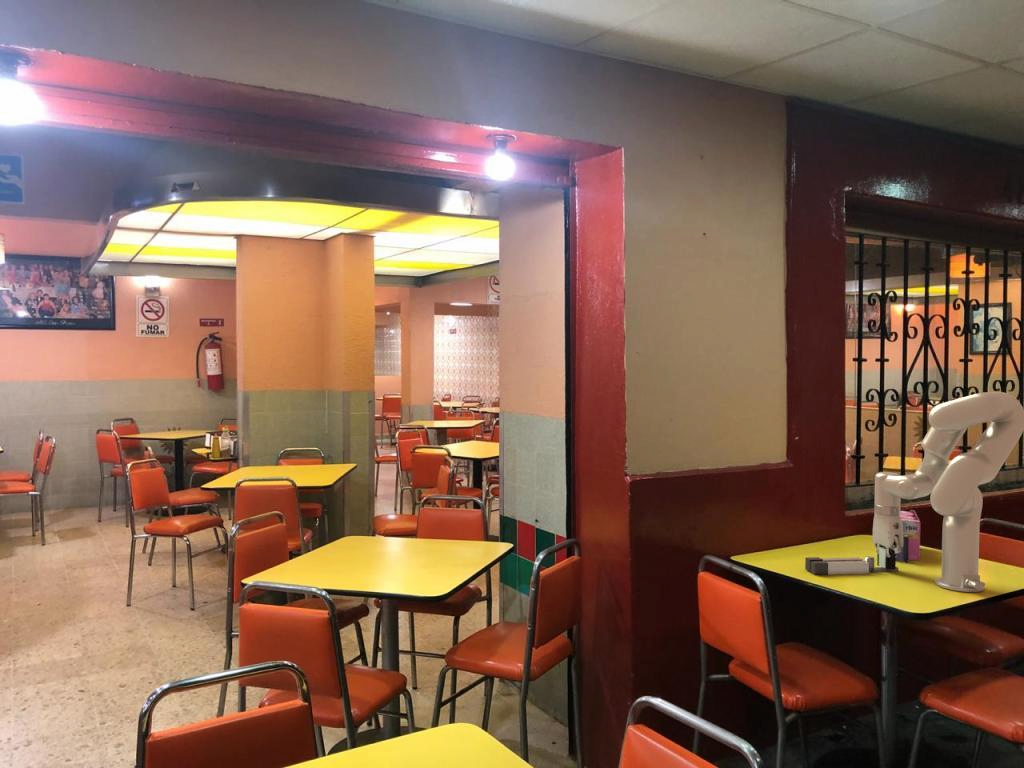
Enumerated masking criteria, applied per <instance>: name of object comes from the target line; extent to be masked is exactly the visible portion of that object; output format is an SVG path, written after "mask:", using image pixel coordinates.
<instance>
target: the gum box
mask: <svg viewBox="0 0 1024 768" xmlns="http://www.w3.org/2000/svg"><path fill="white" fill-rule="evenodd" d="M900 517H901V520H902V526H903V534H904V535H907V536H908V539H909V540H908V553H909V554H908V555H909V557H908V561H917V562H920V556H921V553H920V552H921V550H920V549H921V521H920V518H919V517H918V515H917V512H916V510H913V509H910V510H909V511H905V510H900Z"/></svg>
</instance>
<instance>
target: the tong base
mask: <svg viewBox="0 0 1024 768" xmlns="http://www.w3.org/2000/svg"><path fill="white" fill-rule="evenodd" d="M898 571H899V567H897V566H896V568H895V569H889V570H887V569H885V568H883V567H881V566H878V567H875V557H874V556H864V560H863V561H834V562H825V561H811V568H810V571H809V572H810V574H812V575H814V576H829V575H831V576H832V575H863V574H864V575H865V574H866V575H867V574H870V573H875V572H898Z"/></svg>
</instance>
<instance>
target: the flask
mask: <svg viewBox="0 0 1024 768" xmlns="http://www.w3.org/2000/svg"><path fill="white" fill-rule="evenodd" d="M908 540H909V539H908V536H907V535H904V534H903V547H902V548H901V552H899V553H898V554H897V557H896V562H899V563H905V564H908V563H909V560H908V557H909V555H908V554H909V553H908ZM892 547H893V545H892Z"/></svg>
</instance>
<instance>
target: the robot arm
mask: <svg viewBox="0 0 1024 768" xmlns="http://www.w3.org/2000/svg"><path fill="white" fill-rule="evenodd" d="M928 422H929V424H930V428H929V430H928V431H927V433H926V434H925V436H924V438H923V439H922V441H921V447H922V449H923V451H924V457H923V459H922V462H921V464H920V465H919V466H918V468H917V470H916V471H915V472H914V473H911V474H906V475H904V474H903V475H900V474H899V473H896V472H892V471H879V472H877V473H876V474H875V476H874V509H873V510H874V512H873V513H874V514H873V515H874V516H873V522H872V523H873V524H872V543H873V544H874V546H875V548H876V553H877V554H876V555H877V558H876V561H877V566H878V567H880V566H879V547H886V552H887V557H885V569H887V570H889V569H895V568H896V567H897V566H896V565H897V564H896V563H897V561H896V557H897V554H898V553H899V552H901V548H902V547H903V526H902V520H901V517H900V511H901V501H902V500H914V499H919V498H924V497H927V496H929V495H930V496H929V497H930V499H929V500H930V502H929V503H930V505H931V507H932V509H933V510H934V511H935V512H936V513H937V514H938V515H941V516H943V520H942V532H941V533H942V534H941V535H942V536H941V537H942V539H941V577H938V578H936V579H935V584H936V585H937V587H940V588H943V589H947V590H951V591H954V592H964V593H979V592H983V591H984V590H985V587H986V583H985V582H984V581H981V575H979V565H980V561H979V559H980V558H979V557H980V554H979V553H980V528H981V527H980V526H981V525H980V523H981V516H982V511H983V510H982V509H983V498H984V497H983V494H982V492H981V490H980V489H979V488H978V487H979V486H980V485H985V484H987V483H990V482H991V481H993V480H994V479H995V478H996V476H997V474H998V473H999V472H1000V469H1001V468H1002V466H1004V464H1005V462H1006V460H1007V459H1008V458H1009V456H1010V455H1011V452H1013V449H1014V448H1015V446H1016V445H1017V444H1018V442H1019V440H1020V438H1021V437H1022V434H1023V432H1024V407H1023V406H1022V404H1021V402H1020V400H1018V399H1017V398H1016V397H1015V396H1013V395H1012V394H1010V393H1006V392H1003V391H987V392H986V391H985V392H978V393H974V394H971V395H967V396H964V397H963V396H962V397H959V398H957V399H952V400H949V401H945V402H942V403H938V404H935V406H933V407H932V408H931V409H930V411H929V414H928ZM984 423H989V424H988V425H989V426H988V427H987V428H986V429H985V430H984V432H983V433H982V434H981V435H980V436H979V439H978V440H977V442H976V444H975V445H974V446H973V448H972V449H971V450H970V451H969V452H963V453H961V454H958V455H957V456H955V457H954V458H952V460H950V456H951V455H952V453H953V451H954V450H955V448H956V446H957V445H958V443H959V442H960V440H961V439H962V437H963V436H964V434H965V433H966V431H967V429H968V428H969V427H972V426H976V425H981V424H984ZM949 460H950V461H949ZM901 499H902V500H901ZM892 545H893V547H892ZM890 549H893V550H892V551H891V552H890Z"/></svg>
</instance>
